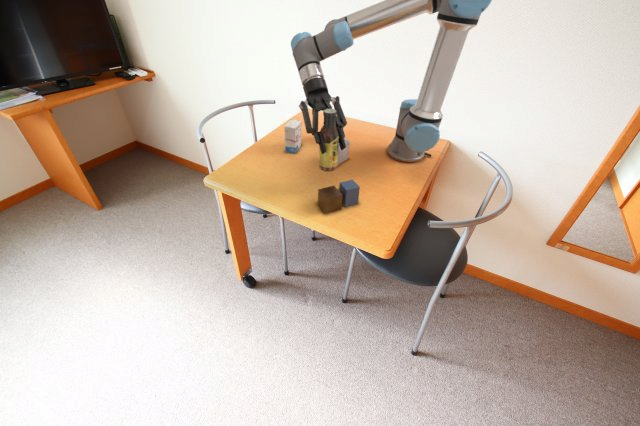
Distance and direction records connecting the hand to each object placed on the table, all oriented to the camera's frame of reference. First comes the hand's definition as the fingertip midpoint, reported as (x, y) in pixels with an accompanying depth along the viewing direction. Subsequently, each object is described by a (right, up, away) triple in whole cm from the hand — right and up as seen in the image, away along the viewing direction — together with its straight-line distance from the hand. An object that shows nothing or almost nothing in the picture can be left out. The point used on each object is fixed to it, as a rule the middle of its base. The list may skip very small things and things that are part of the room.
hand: (333, 150), depth 97 cm
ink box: (-16, +9, +39) cm, 43 cm away
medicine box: (+3, +2, +30) cm, 31 cm away
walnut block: (-1, -18, +6) cm, 19 cm away
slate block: (+5, -16, +9) cm, 19 cm away
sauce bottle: (-2, -5, +8) cm, 9 cm away
